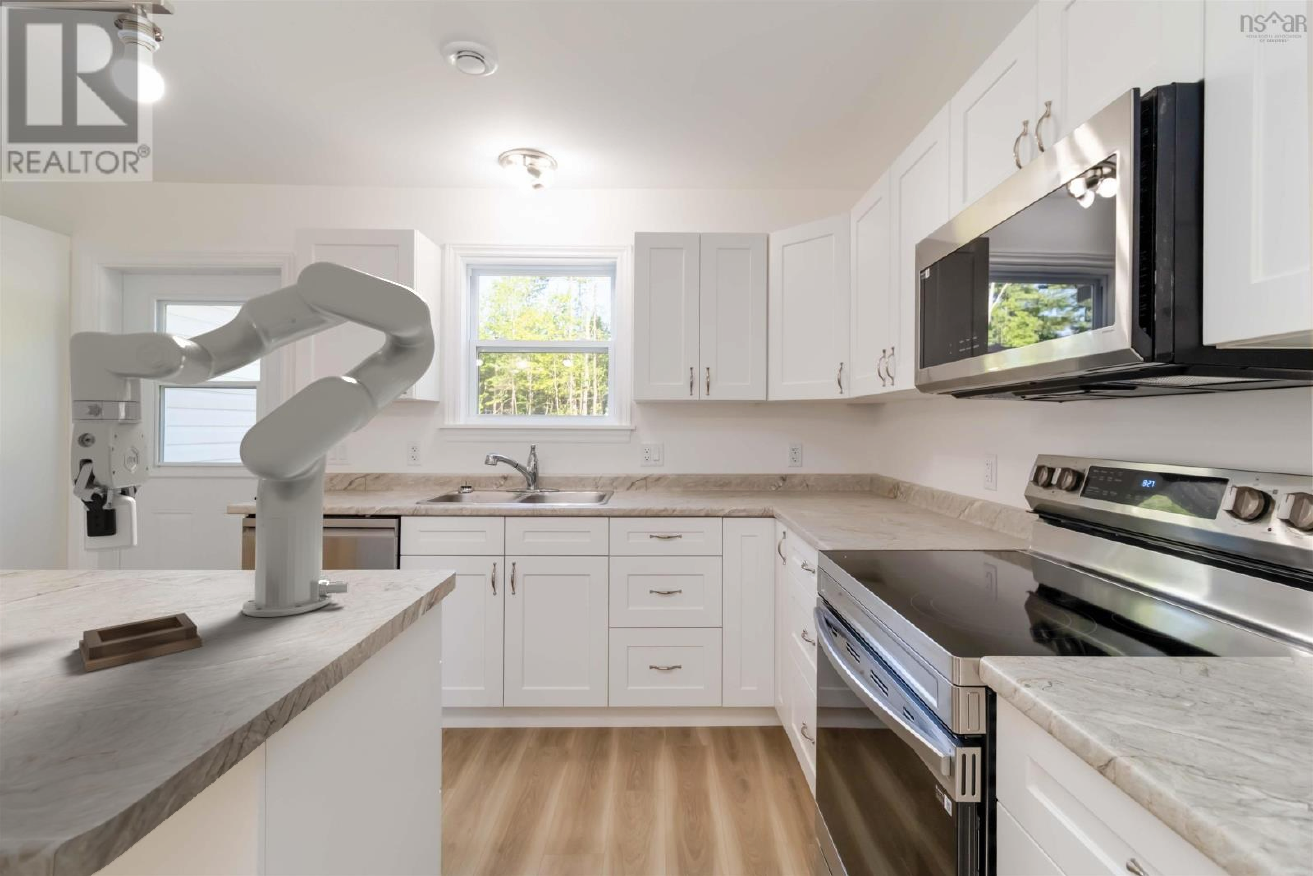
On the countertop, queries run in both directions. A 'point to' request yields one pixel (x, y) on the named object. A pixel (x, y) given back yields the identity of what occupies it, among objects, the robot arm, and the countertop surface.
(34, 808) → the countertop surface
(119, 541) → the eye dropper bottle
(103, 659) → the pocket plate
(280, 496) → the robot arm
